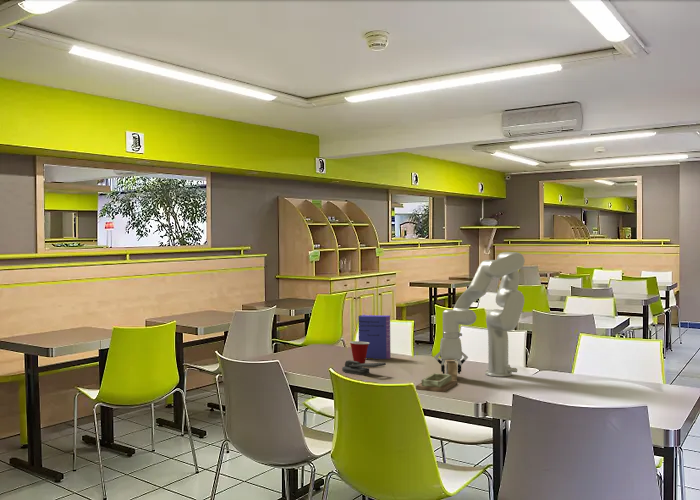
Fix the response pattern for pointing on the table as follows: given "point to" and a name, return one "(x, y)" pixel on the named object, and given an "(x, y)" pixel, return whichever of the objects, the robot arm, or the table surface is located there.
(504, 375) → the robot arm
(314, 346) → the table surface
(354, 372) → the dark grey long piece
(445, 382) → the notch board
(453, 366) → the tan rectangular block
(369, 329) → the cereal box
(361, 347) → the plastic cup
